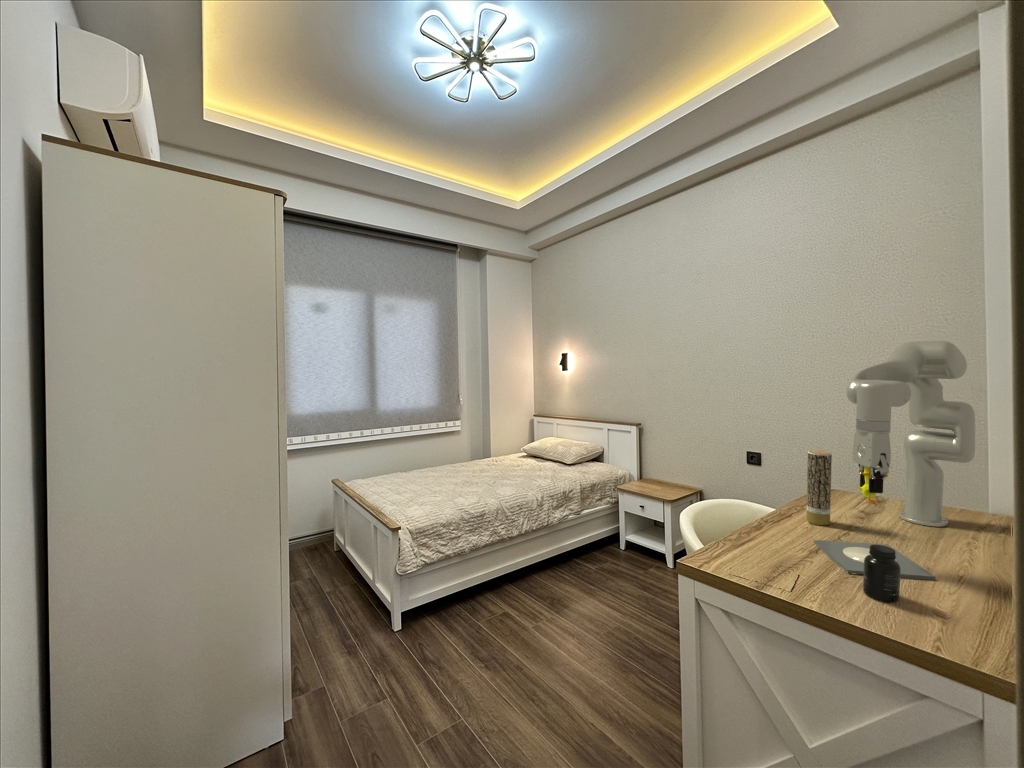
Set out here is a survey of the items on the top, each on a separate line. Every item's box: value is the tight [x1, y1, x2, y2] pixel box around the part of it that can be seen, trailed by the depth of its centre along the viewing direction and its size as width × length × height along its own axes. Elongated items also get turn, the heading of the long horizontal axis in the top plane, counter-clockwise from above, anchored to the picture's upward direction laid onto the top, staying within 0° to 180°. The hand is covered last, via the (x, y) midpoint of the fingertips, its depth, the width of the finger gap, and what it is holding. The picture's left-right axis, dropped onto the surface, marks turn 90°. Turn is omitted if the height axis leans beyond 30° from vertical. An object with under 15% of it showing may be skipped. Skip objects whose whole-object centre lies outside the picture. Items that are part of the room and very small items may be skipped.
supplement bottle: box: [862, 543, 901, 604], centre depth 107 cm, size 7×7×12 cm
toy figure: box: [857, 466, 889, 505], centre depth 125 cm, size 7×4×12 cm, turn 49°
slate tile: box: [813, 539, 936, 581], centre depth 127 cm, size 20×20×1 cm
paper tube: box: [806, 449, 832, 526], centre depth 154 cm, size 7×7×25 cm
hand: (871, 489), depth 125 cm, fingers closed on toy figure, 3 cm apart
